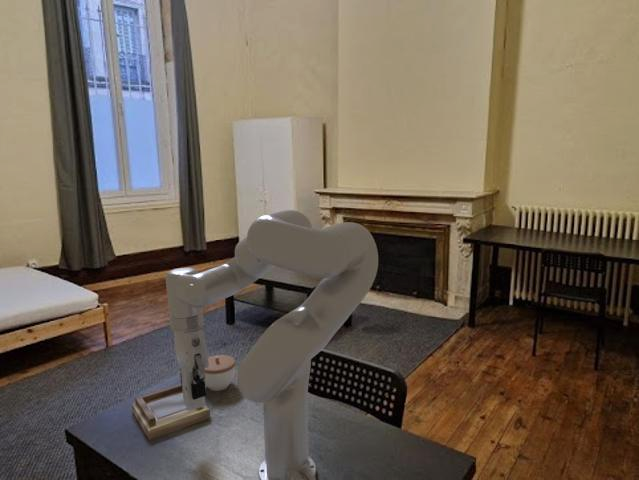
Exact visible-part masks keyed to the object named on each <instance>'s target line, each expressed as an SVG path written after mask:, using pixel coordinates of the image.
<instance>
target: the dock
mask: <svg viewBox="0 0 639 480" xmlns="http://www.w3.org/2000/svg"><path fill="white" fill-rule="evenodd" d="M134 399H135V400H134V401H135V402H132V403H131V408H132V413H133V414H134V416H135V418H136V420H137V421H138V423H139V425H140V427H141V428H142V430H143V433H145V435H146V437H147V439H148V440H149V441H152V440H154V439H157V438H160V437H162V436H165V435H167V434H170V433H173V432H176V431H179V430H182V429H185V428H187V427H189V426H192V425H195V424H197V423H201V422H203V421H205V420H209V419H211V409H210V408H209V407H208V405H206V404H205V406H203V407H200V408H197V409H193V410H187V408H186V406H185V403H184V400H183V389H182V386H181V382H180V383H177V384H175V385H171V386H168V387H164V388H162V389H161V388H160V389H158V390H155V391H151V392H149V393H145V394H142V395H139V396H135V397H134Z"/></svg>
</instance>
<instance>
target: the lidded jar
mask: <svg viewBox="0 0 639 480" xmlns="http://www.w3.org/2000/svg"><path fill="white" fill-rule="evenodd" d="M208 361H209V366H208V368H205V367H204V368H205V371H206V374H205V387H206V388H208V389H209V390H211V391H212V392H213V391H214V392H220V391H223V390H226V389H227V388H228V387H229V385H231V383H232V382H233V380H234V377H235V375H236V360H235V358H234V357H232V356H231V355H228V354H227V355H226V354H215V355H211V356H208Z"/></svg>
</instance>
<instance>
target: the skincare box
mask: <svg viewBox="0 0 639 480" xmlns="http://www.w3.org/2000/svg"><path fill="white" fill-rule="evenodd" d="M192 369H193V370H195V369H197V367H196V366H194V367H193V368H192ZM180 373H181V376H182V389H183V400H184V403H185V406H186V408H187V410H193V409H197V408H200V407H203V406H205V405H206V396H204V397H201V398H198V399H195V400H194V399H193V398H192V391H191V383H192V379H191V375H190V372H188V371H187V368H186V364H185V366H184V367H183V366H182V365H181V372H180ZM194 375H195V377H196V375H198V371H197V372H194ZM181 376H180V377H181Z"/></svg>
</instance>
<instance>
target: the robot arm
mask: <svg viewBox="0 0 639 480" xmlns="http://www.w3.org/2000/svg"><path fill="white" fill-rule="evenodd" d="M378 252H379V251H378V248H377V243H376V242H375V239H374V237H373V235H372V234H371V232H370V231H369V230H368V229H367V228H366V227H365V226H364V225H362V224H360V223H357V222H351V221H347V222H344V221H343V222H340V223H335V224H333V225H331V226H327V227H324V228H320V229H317V228H316V229H315V228H313V226H312V222H311V221H310V219H309V218H308V217H307V215H305V214H304V213H302V212H300V211H297V210H294V209H293V210H292V209H289V210H286V209H285V210H282V211H278V212H273V213H269V214H264V215H262V216H260V217H258V218H257V219H255V220H254V221H253V222H252V223H251V224H250V226H249V228H248V230H247V234H246V236H245V237H244V238H243V239H241V240H239V241H238V243H237V244H236V245H235V248H234V257H232V258H231V259H230V260H228V261H227V262H225V263H224V264H222V265H219V266H216V267H213V268H210V269H207V270H204V271H200V272H199V271H198V270H197V269H196V268H194V267H180V268H178V267H177V268H174V269H172V270H169V271H168V272H167V273H166V275H165V286H166V296H167V305H168V306H167V307H168V315H169V325H170V330H171V331H172V332H173V339H174V340H173V341H174V342H173V343H174V351H175V358H176V361H177V362H178V363H179V371H180V372H179V375H180V383H181V386H182V376H181V365H182V366H183V367H184V366H185V364H186V368H187V371H188V372H190V375H191V379H192V383H191V391H192V398H193V399H194V400H195V399H198V398H201V397H204V396H205V397H206V396H207V390H206V388H207V387H206V385H205V374H206V371H205V368H208V366H209V361H208V357H209V355H208V348H207V343H206V342H207V341H206V337H205V332H204V329H203V327H204V325H205V324H204V323H205V322H204V321H205V320H204V314H203V313H204V311H203V309H204V308H206V307H209V306H211V305H214V304H216V303H218V302H221V301H223V300H225V299H227V298H229V297H232V296H233V295H235V294H237V293H239V292H240V291H243V290H244V289H246V288H247V287H249V286H250V285H252V284H253V283H255V282H256V281H258V280H259V279H260V278H262V277H263V275H265V274H267V273H268V272H270V271H271V270H273V269H274V268H276V267H278V268H281V269H284V270H287V271H291V272H294V273H297V274H300V275H303V276H306V277H310V278H314V279H321V280H320V282H319V283H318V284H317V285H316V286H315V288H314V289H313V291H312V292H311V293H310V295H309V296H308V297H307V298H306V299H305V300H304V302H302V303H301V304H300V305H299V306H298V307H296V308H295V309H293V310H291V311H290V312H288V313H286V314H284V315H283V316H281V317H280V318H278V319H276V320H275V321H274V322H273V323H272V324H271V325H270V326H268V327H267V328H266V330H265V331H264V332H263V333H262V334H261V335H260V337H259V338H258V340H257V341H256V342H255V344H253V346H252V348H251V349H250V350H249V351H248V353H247V354H246V355H245V356H244V358H243V360H242V361H241V362H240V364H239V366H238V369H237V375H236V377H237V379H236V380H237V386H238V388H239V391H240V393H241V395H242V396H244V398H246V400H249V401H250V402H252V403H255V404H262V407H263V408H262V409H263V413H262V414H263V436H264V438H263V439H264V458H265V459H264V460H263V461H262V462H261V464H259V468H258V478H259V480H316V475H317V474H316V473H317V468H316V467H317V466H316V463H315V462H314V460H313V459H312V458H311V457H310V456H309V455H310V453H309V418H308V417H309V416H308V415H309V413H308V412H309V409H308V408H309V406H308V404H309V402H308V399H309V398H308V397H309V396H308V395H309V391H308V390H309V382H310V373H311V364H312V359H313V358H314V357H316V355H318V354H319V353H320V352H321V351H322V350H323V349H324V348H325V347H326V346H327V345H328V344H329V343H330V341H331V340H332V338H333V337H334V336H335V335H336V333H337V332H338V330H340V328H341V327H342V326H343V325H344V324H345V322H347V320H348V319H349V317H350V316H351V315H352V313H354V311H355V310H357V309H356V308H357V307H358V306H359V305H360V304H361V303H362V301H363V300H364V299H365V297H366V296H367V294H368V293H369V292H370V289H371V288H372V286H373V284H374V281H375V280H376V276H377V273H378V267H379V253H378ZM194 366H196V367H197V369H195V370H193V369H192V368H193V367H194ZM204 367H205V368H204ZM197 371H198V375H196V377H195V375H194V372H197Z"/></svg>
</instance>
